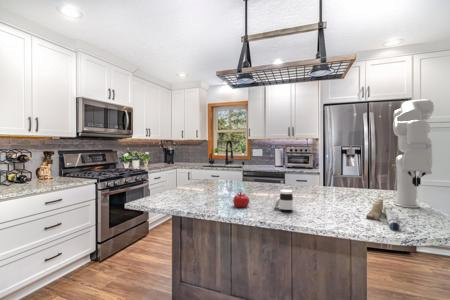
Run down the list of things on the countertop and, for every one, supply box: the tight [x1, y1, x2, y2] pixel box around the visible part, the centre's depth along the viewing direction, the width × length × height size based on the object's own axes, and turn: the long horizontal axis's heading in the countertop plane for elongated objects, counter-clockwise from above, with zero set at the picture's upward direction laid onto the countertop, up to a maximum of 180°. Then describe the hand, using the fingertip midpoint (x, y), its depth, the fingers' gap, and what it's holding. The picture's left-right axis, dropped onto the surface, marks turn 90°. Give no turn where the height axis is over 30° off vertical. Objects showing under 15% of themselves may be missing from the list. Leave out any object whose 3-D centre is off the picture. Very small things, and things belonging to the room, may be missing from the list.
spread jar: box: [273, 189, 294, 213], centre depth 141 cm, size 12×11×12 cm
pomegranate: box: [232, 191, 250, 208], centre depth 150 cm, size 10×10×9 cm
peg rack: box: [365, 198, 384, 221], centre depth 128 cm, size 16×6×8 cm, turn 140°
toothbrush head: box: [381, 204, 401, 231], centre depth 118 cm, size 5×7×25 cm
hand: (416, 185), depth 112 cm, fingers closed
